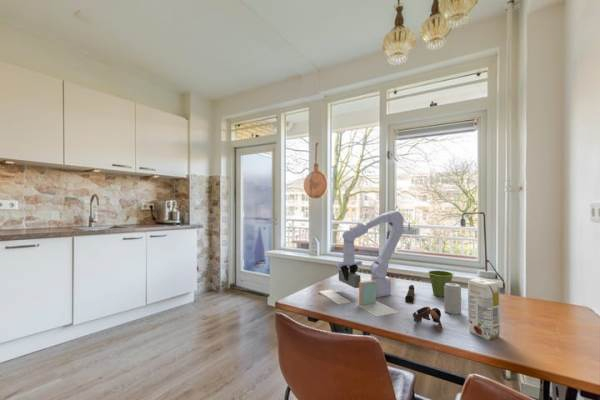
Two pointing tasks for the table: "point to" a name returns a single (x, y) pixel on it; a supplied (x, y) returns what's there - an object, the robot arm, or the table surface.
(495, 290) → the juice carton
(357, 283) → the dark grey block
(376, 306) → the mat
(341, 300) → the tool rest
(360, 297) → the tile
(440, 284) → the plant pot
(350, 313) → the table surface
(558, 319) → the table surface
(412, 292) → the hand tool
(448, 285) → the beverage can
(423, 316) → the brown toy animal
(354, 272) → the robot arm
